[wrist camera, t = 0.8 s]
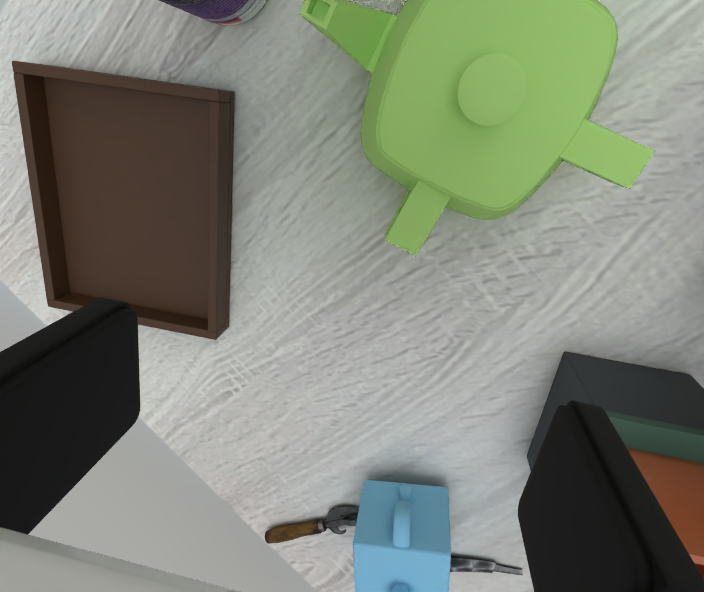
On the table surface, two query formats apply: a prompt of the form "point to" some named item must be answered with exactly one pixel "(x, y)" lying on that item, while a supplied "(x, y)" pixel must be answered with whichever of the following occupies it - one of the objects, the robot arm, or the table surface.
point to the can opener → (314, 526)
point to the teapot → (480, 100)
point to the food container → (631, 405)
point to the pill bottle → (220, 9)
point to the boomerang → (479, 566)
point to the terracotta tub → (678, 496)
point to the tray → (131, 193)
